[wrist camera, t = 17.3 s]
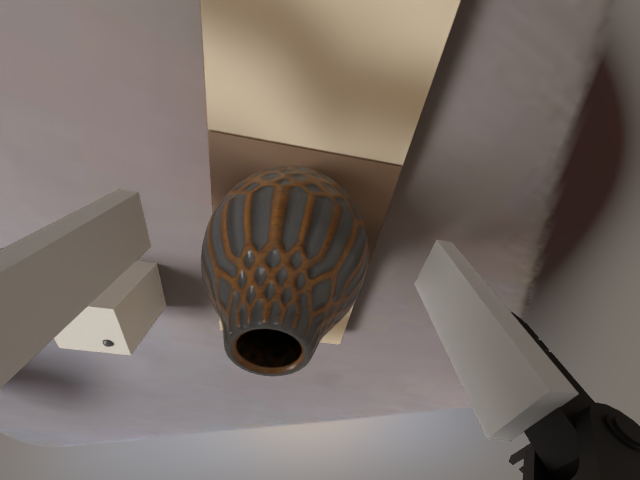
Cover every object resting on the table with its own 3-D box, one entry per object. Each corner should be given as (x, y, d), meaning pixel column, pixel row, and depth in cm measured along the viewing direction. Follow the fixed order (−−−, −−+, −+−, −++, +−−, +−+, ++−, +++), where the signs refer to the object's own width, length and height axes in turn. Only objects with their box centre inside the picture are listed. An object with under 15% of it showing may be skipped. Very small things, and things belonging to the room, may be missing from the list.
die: (92, 253, 18) (25, 301, 14) (157, 262, 18) (110, 312, 14) (109, 298, 20) (56, 350, 16) (166, 305, 20) (129, 358, 16)
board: (208, -91, 9) (190, -120, 8) (458, -26, 10) (478, -43, 9) (224, 315, 21) (218, 330, 20) (339, 330, 22) (340, 345, 20)
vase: (247, 261, 16) (181, 414, 8) (223, 151, 12) (73, 248, 5) (353, 261, 16) (381, 414, 8) (361, 150, 12) (423, 245, 5)
